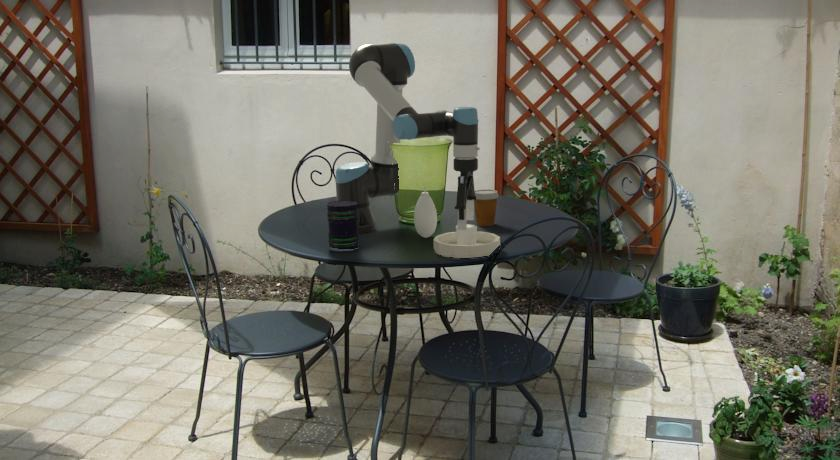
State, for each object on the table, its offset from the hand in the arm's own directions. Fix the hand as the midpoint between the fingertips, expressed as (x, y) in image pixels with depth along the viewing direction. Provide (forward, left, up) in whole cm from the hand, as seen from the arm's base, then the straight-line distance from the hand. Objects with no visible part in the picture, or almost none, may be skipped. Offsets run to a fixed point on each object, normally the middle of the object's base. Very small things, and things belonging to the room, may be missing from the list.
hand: (465, 224), depth 278 cm
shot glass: (0, 0, -8) cm, 8 cm away
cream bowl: (0, 0, -8) cm, 8 cm away
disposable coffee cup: (0, +39, -9) cm, 40 cm away
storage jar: (-40, -2, -9) cm, 41 cm away
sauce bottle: (-17, +17, -9) cm, 25 cm away
